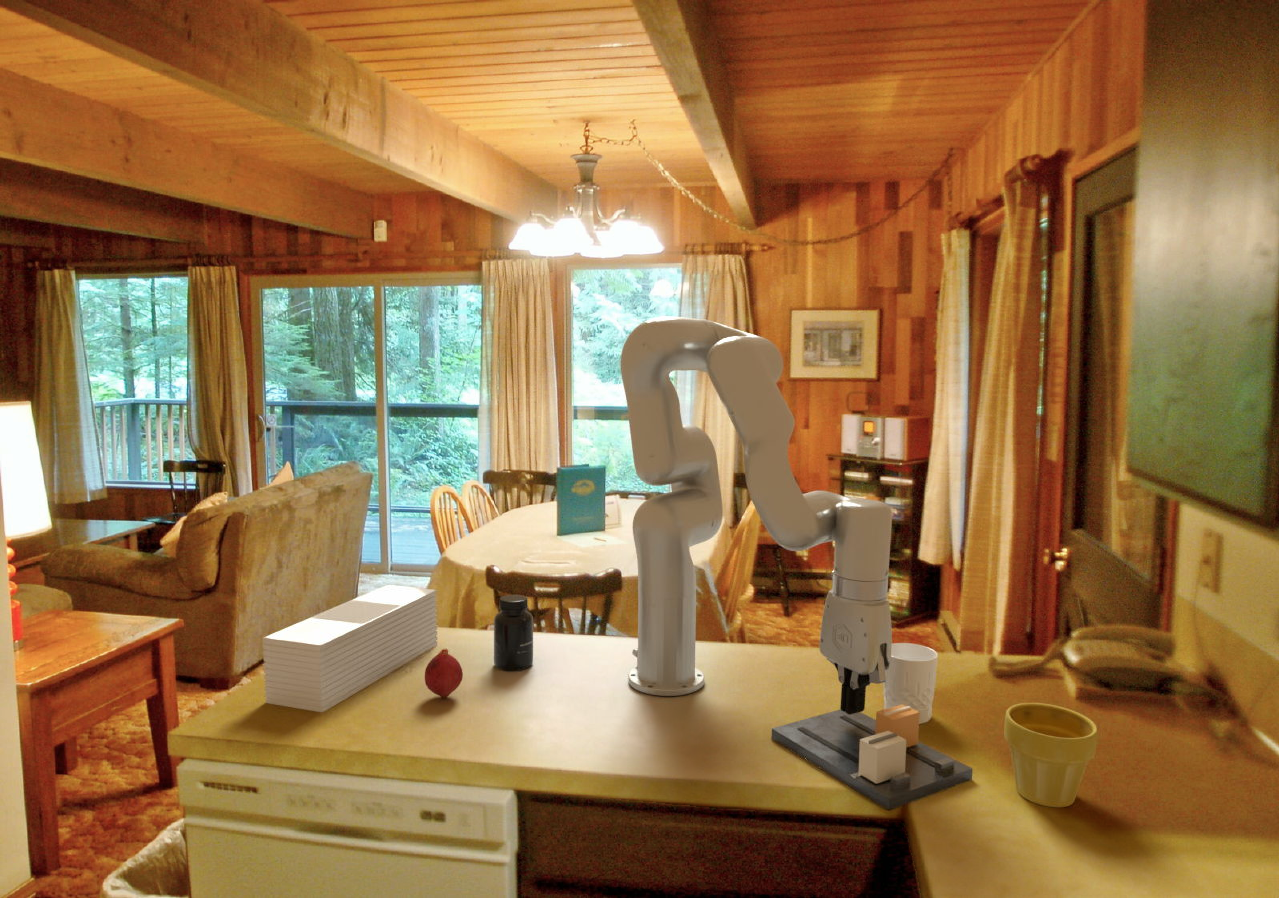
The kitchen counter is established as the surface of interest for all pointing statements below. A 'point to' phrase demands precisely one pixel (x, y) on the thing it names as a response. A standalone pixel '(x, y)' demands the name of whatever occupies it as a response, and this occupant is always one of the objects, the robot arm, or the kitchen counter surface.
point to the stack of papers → (348, 647)
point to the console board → (837, 753)
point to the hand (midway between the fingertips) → (852, 710)
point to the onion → (443, 674)
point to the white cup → (911, 678)
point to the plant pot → (1049, 751)
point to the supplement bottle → (513, 634)
